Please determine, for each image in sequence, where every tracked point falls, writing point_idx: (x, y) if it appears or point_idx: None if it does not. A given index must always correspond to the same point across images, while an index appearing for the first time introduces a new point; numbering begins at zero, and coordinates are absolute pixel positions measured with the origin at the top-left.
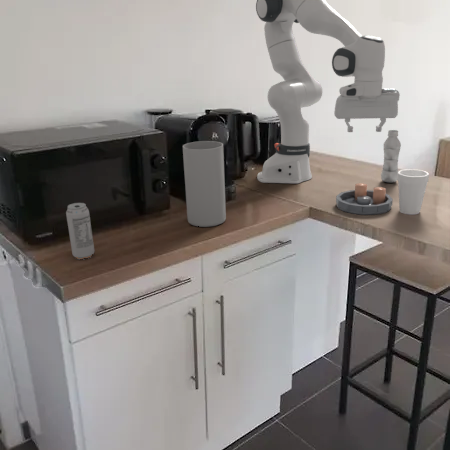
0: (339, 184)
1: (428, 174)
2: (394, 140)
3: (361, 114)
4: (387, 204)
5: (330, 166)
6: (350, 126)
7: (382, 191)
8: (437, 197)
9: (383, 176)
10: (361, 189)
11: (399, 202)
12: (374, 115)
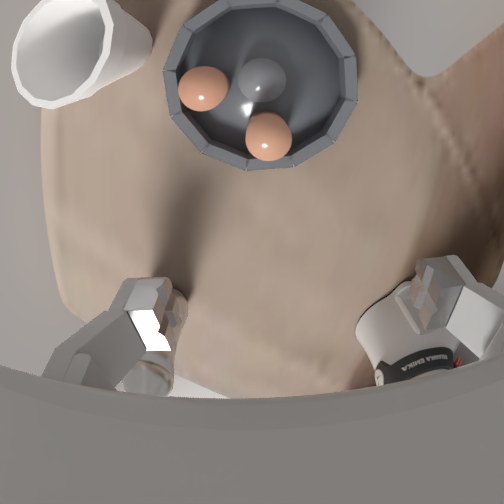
0: (302, 280)
1: (14, 44)
2: (135, 386)
3: (443, 435)
4: (187, 22)
5: (295, 381)
6: (448, 311)
7: (194, 68)
8: (56, 182)
9: (181, 301)
10: (269, 115)
11: (146, 35)
12: (166, 438)
